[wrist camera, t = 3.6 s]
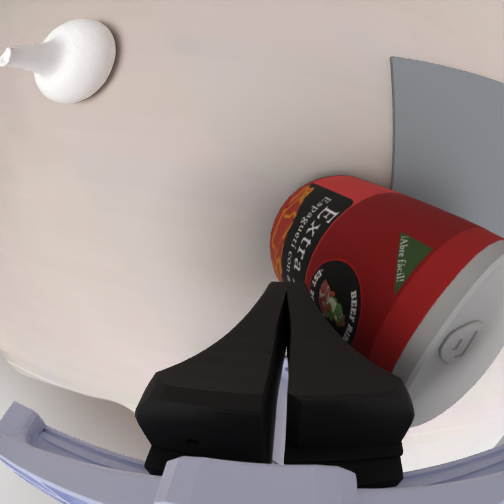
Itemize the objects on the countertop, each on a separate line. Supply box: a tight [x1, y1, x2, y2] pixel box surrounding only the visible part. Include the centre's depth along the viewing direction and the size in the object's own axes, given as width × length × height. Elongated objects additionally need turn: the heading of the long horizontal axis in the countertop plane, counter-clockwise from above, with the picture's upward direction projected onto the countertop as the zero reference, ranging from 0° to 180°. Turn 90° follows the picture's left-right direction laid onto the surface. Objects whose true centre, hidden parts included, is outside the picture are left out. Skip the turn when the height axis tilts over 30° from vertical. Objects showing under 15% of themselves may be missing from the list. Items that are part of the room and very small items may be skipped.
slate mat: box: [390, 56, 504, 238], centre depth 17 cm, size 22×17×1 cm
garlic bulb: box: [0, 18, 116, 103], centre depth 12 cm, size 6×6×8 cm
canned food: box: [270, 175, 504, 428], centre depth 13 cm, size 8×8×11 cm
